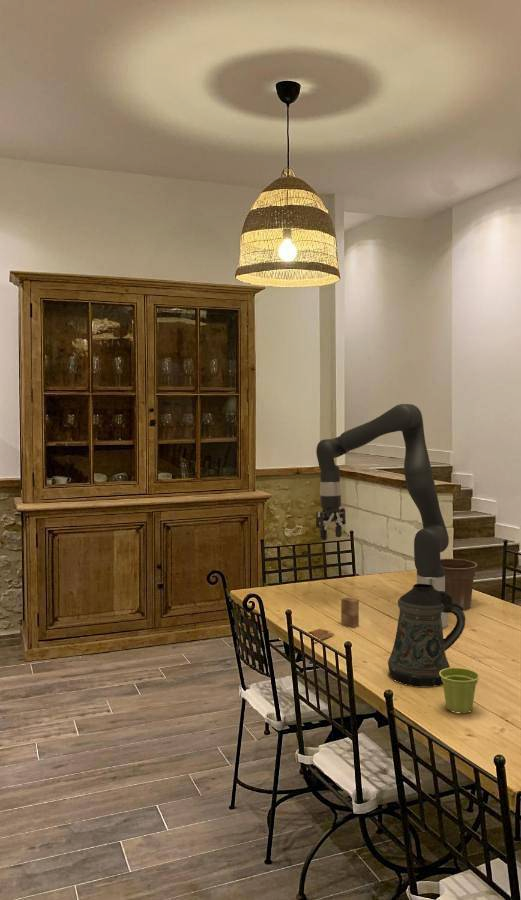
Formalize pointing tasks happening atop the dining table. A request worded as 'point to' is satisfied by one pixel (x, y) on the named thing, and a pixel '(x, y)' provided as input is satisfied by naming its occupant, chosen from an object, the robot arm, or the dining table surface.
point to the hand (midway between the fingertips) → (331, 538)
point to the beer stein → (423, 636)
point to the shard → (321, 634)
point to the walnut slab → (350, 612)
